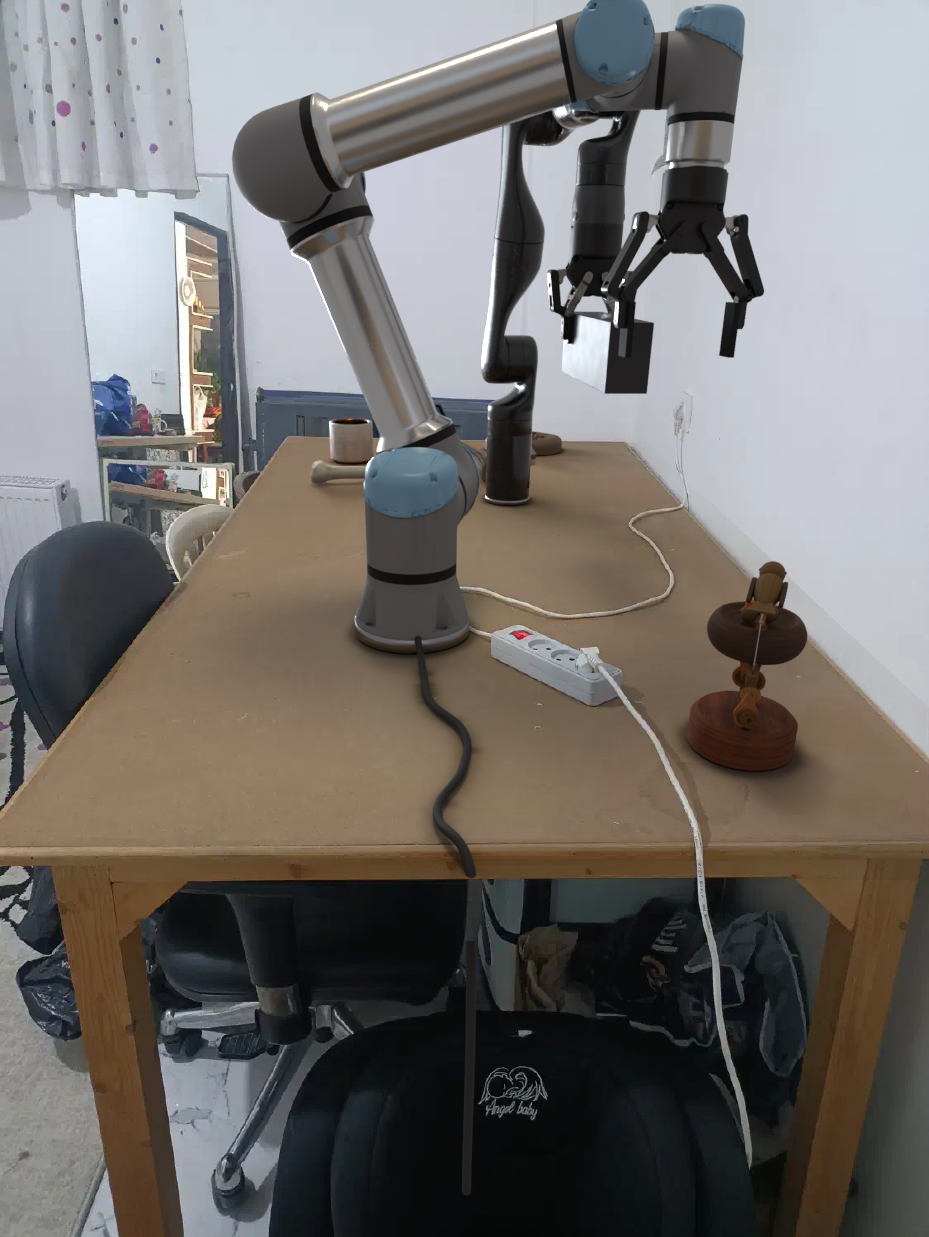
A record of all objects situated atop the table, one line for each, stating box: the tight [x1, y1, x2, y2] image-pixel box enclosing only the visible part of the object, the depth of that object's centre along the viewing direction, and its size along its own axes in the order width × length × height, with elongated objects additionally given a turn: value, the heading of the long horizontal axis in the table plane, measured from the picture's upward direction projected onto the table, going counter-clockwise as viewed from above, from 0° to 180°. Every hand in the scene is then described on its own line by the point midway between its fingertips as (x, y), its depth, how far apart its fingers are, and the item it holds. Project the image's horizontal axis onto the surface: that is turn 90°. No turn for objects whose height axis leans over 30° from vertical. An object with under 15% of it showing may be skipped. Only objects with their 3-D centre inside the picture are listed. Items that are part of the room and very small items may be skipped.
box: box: [561, 310, 655, 395], centre depth 122 cm, size 23×6×9 cm, turn 9°
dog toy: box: [309, 460, 367, 485], centre depth 190 cm, size 20×6×5 cm, turn 99°
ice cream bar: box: [484, 431, 563, 460], centre depth 224 cm, size 21×28×4 cm
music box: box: [686, 560, 808, 772], centre depth 84 cm, size 15×11×20 cm
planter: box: [328, 417, 375, 464], centre depth 212 cm, size 11×11×10 cm
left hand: (675, 357), depth 107 cm, fingers open, 13 cm apart
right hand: (588, 343), depth 129 cm, fingers closed on box, 6 cm apart
